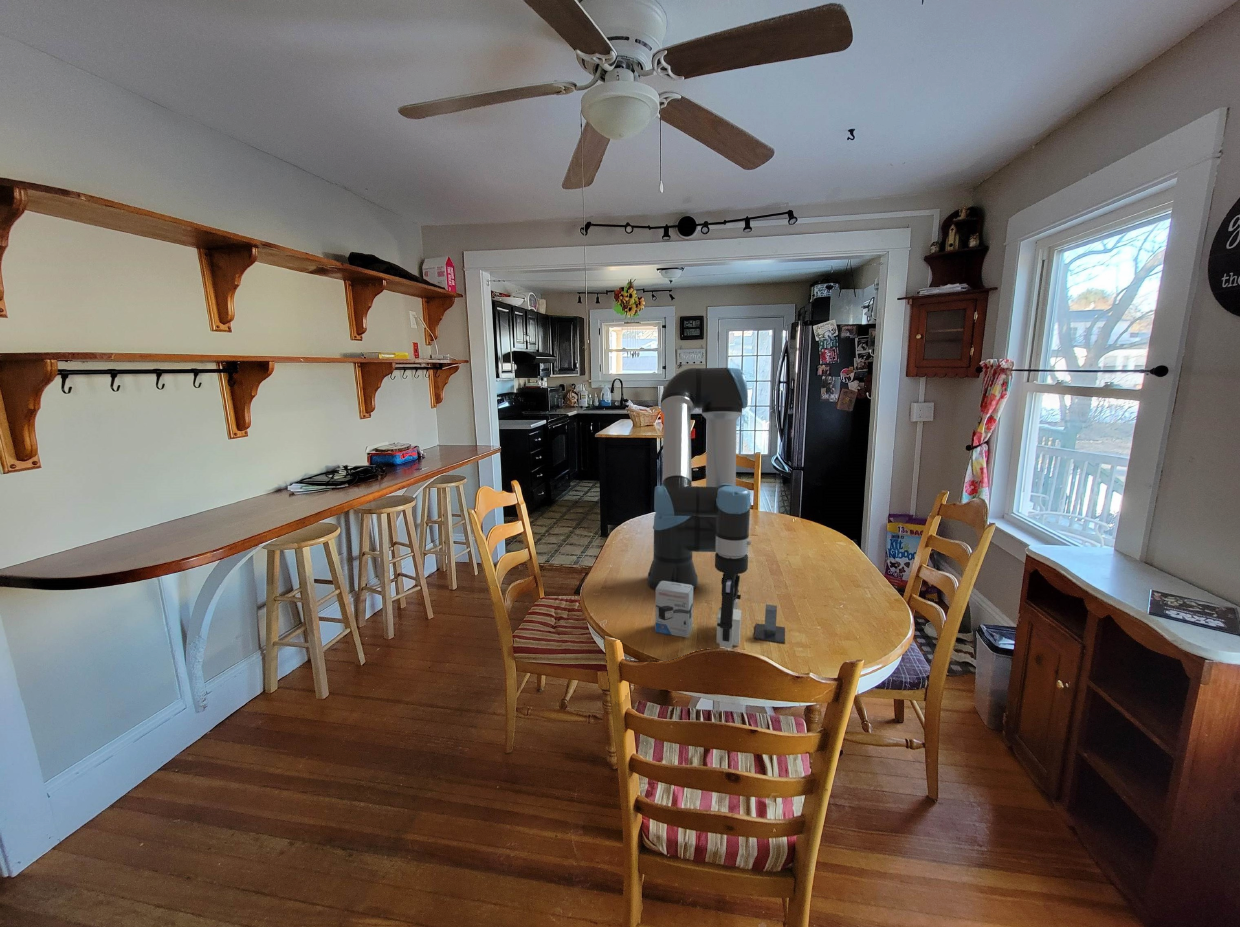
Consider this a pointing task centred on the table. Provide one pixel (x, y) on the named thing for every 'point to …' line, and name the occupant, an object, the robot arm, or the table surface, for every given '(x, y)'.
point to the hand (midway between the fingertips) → (728, 637)
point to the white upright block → (736, 627)
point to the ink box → (674, 608)
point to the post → (770, 627)
